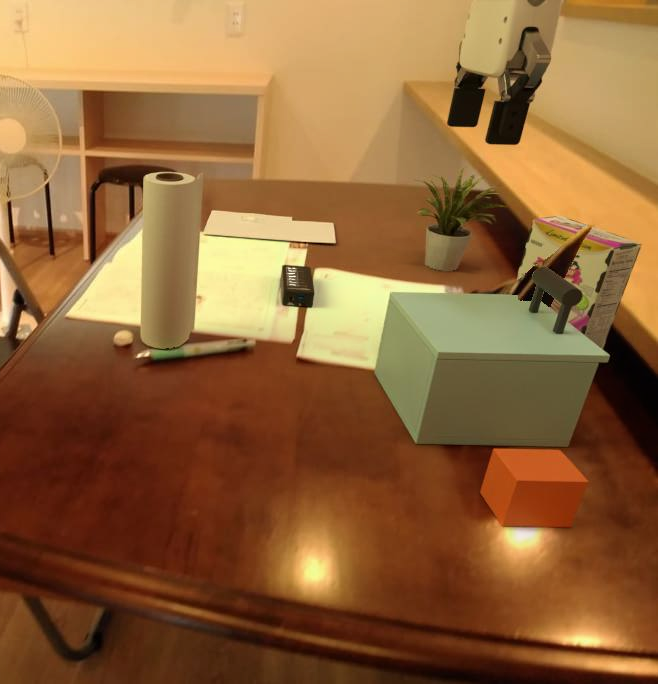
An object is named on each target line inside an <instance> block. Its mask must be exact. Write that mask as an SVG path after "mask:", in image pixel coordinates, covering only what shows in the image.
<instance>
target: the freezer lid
mask: <svg viewBox="0 0 658 684" xmlns="http://www.w3.org/2000/svg"><path fill="white" fill-rule="evenodd" d="M532 281H533V282H534V283H535V284H536V287H535V291H534V294H533V297H532V300H531V301H523V300H522V301H520V300H518V295H512V293H510V294H509V293H508V294H505V293H504V294H503V293H463V292H462V293H461V292H460V293H459V292H418V291H417V292H416V291H415V292H412V291H410V292H409V291H390V292H389V296H388V300H389V299H390V300H391V301H392V302H393V304H394V305H395V306H396V307H397V309H398V310H399V311H400V313H401V314H402V315H403V316H404V318H405V319H406V320H407V322H408V323H409V324H410V325H411V327H412V328H413V329H414V331H415V332H416V333H417V334H418V336H419V337H420V338H421V339H422V341H423V342H424V343H425V345H426V346H427V347H428V348H429V350H430V351H431V352H432V354H433V355H434V356H435V357H436V359H464V360H512V361H560V362H598V363H609V360H610V357H611V355H610V354H609V353H608V352H607V351H605V350H604V348H603V349H601V348H600V347H599V346H598V345H596V344H595V343H594V342H593V341H591V340H590V339H589V338H587V337H586V336H585V335H584V334H582V333H581V332H580V331H579V330H577V329H576V328H575V327H574V326H572V325H571V324H570V323H568V322H567V320H568V317H569V314H570V311H571V308H572V307H573V306H575V305H577V304H578V303H579V302H580V301H581V300H582V297H583V294H582V292H581V290H580V289H578V288H577V287H575V286H574V285H572V284H571V283H569V282H568V281H567V280H565V279H564V278H562V277H561V276H559V275H558V274H556V273H555V272H554V271H552V270H551V269H549V268H548V267H540V268H538V269H536V270H535V271H534V272H533V274H532ZM544 291H545V292H547V293H548V294H549V295H551V296H552V297H553V298H555V299H556V300H557V301H559V302H560V303H561V307H560V310H559V313H558V314H557V313H556V312H555V311H553V310H552V309H551V308H550V307H548V306H547V305H546V304H544V303H543V302H542V301H541V300H542V297H543V294H544Z"/></svg>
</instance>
